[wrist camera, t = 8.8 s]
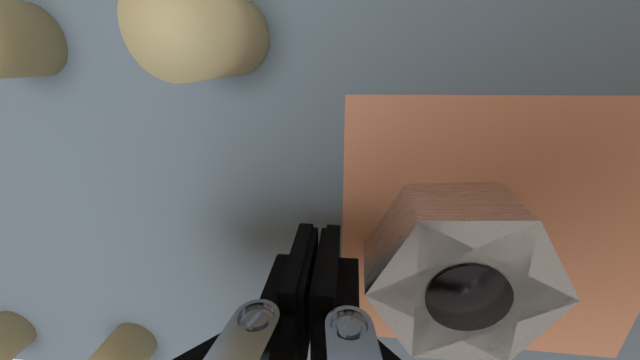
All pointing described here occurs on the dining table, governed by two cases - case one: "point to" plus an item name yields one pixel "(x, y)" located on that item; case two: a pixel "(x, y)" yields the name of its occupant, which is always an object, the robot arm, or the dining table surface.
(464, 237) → the hex nut
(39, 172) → the spacer board
